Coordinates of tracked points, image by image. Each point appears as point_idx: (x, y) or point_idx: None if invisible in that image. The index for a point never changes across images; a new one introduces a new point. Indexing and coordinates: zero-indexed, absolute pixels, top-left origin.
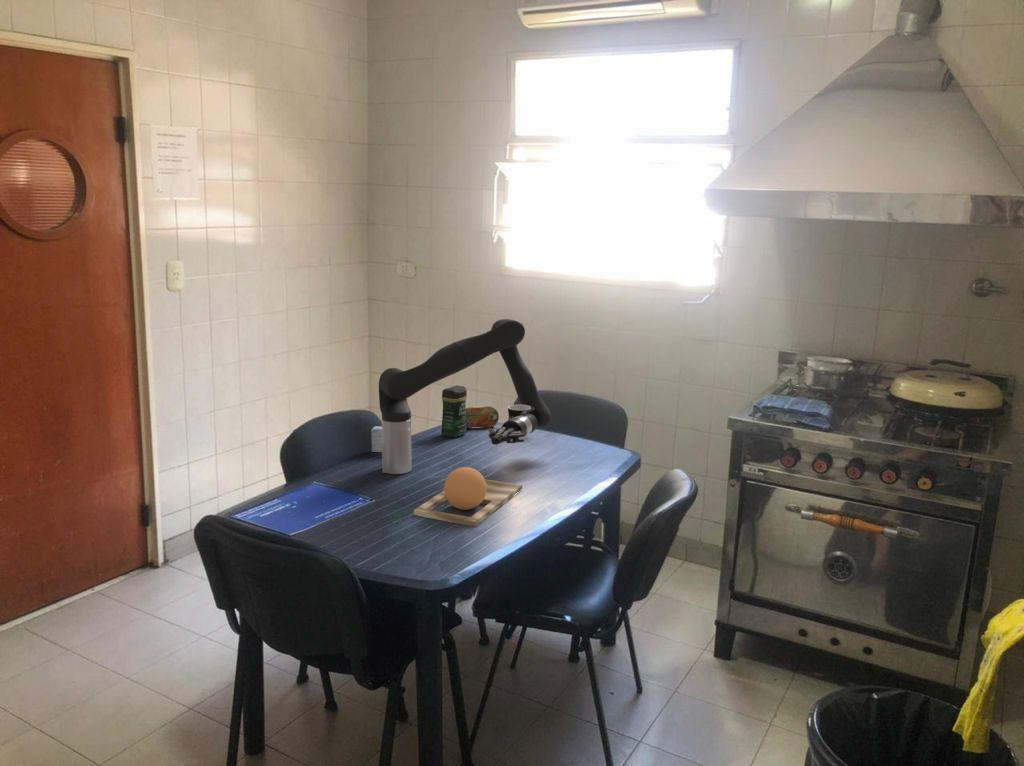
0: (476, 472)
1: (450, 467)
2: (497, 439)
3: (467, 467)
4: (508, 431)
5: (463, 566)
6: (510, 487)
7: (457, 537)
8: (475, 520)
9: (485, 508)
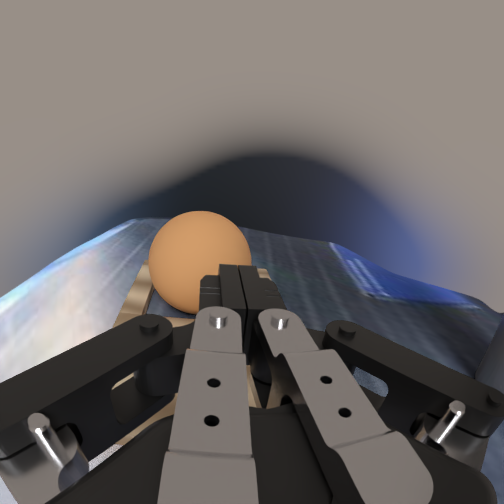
0: (174, 219)
1: None
2: (216, 278)
3: (203, 215)
4: (194, 377)
5: (129, 227)
6: None
7: None
8: (146, 261)
9: (143, 288)
